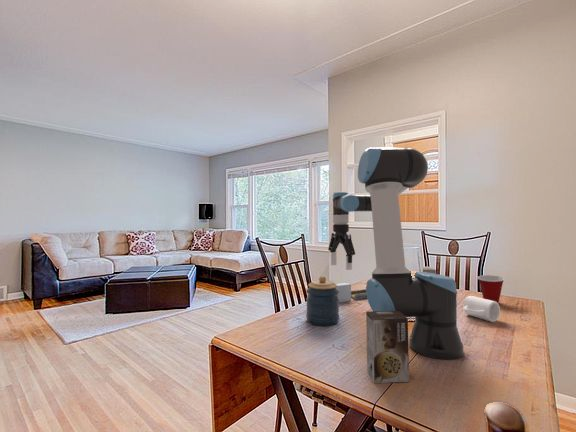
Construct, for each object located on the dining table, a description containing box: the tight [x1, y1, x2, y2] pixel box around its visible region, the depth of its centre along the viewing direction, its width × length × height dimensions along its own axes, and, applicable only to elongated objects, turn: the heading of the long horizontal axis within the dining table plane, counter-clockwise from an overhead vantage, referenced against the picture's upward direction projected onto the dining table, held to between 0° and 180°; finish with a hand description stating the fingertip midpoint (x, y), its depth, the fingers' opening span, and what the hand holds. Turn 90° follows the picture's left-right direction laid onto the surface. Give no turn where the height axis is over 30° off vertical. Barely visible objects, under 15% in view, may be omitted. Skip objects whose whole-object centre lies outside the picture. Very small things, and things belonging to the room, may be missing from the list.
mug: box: [462, 295, 501, 323], centre depth 121 cm, size 12×10×8 cm
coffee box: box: [365, 310, 410, 384], centre depth 79 cm, size 9×6×16 cm
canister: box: [305, 275, 340, 327], centre depth 120 cm, size 13×13×18 cm
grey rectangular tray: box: [351, 288, 368, 301], centre depth 156 cm, size 17×8×2 cm, turn 113°
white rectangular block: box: [335, 282, 352, 303], centre depth 148 cm, size 9×4×8 cm, turn 113°
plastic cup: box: [476, 274, 505, 304], centre depth 144 cm, size 11×11×12 cm
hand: (341, 267), depth 148 cm, fingers open, 13 cm apart
